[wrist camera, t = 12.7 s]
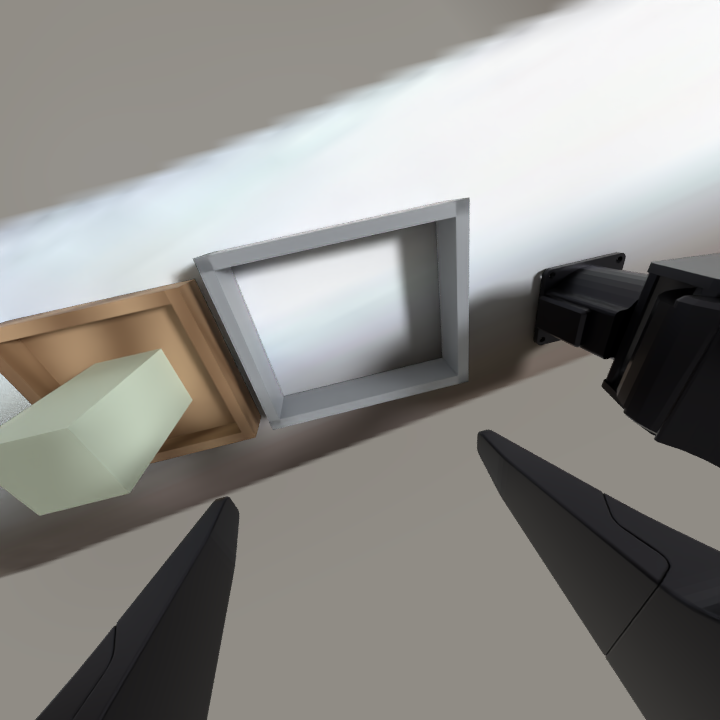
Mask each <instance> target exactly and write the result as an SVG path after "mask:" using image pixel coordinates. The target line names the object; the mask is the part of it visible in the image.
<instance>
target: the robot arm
mask: <svg viewBox="0 0 720 720" xmlns="http://www.w3.org/2000/svg"><path fill="white" fill-rule="evenodd" d="M625 257H626V256H625V254H624V253H612V254H608V255H603V256H599V257H595V258H591V259H586V260H582V261H578V262H574V263H569V264H565V265H561V266H556V267H552V268H549V269H547V270H545V271H544V273H543V275H542V282H541V289H540V297H539V304H538V311H537V319H536V326H535V333H534V342H535V343H537V344H539V345H543V344H547V343H551V342H555V341H559V340H562V341H564V342H566V343H568V344H570V345H572V346H574V347H580V348H582V349H584V350H586V351H588V352H590V353H592V354H594V355H597V356H599V357H601V358H603V359H609V358H611V359H613V360H614V361H613V363H612V366H611V368H610V371H609V373H608V375H607V378H606V379H605V380H604V381H603V383H602V387H603V389H605V391H606V392H607V393H609V394H610V396H611V397H612V398H613V399H614V400H615V401H616V402H617V403H618V404H619V405H620V406H621V407H622V408H623V409H624V413H625V414H626V416H628V417H629V418H630V419H631V420H633V421H634V422H636V423H637V424H638V425H640V426H641V427H642V428H644V429H645V430H647V431H648V432H649V433H651V434H653V435H655V438H654V439H655V440H656V441H657V442H660V443H663V444H665V445H669V446H671V447H674V448H678V449H681V450H683V451H686V452H688V453H690V454H692V455H695V456H697V457H700V458H702V459H704V460H706V461H708V462H710V463H712V464H714V465H716V466H718V467H719V468H720V253H716V254H708V255H701V256H693V257H685V258H678V259H670V260H662V261H655V262H651V264H650V266H649V269H648V271H647V272H649V274H643V273H637V272H631V271H625V270H622V269H623V265H624V261H625ZM550 274H551V276H550V277H549V275H550ZM540 339H541V340H540ZM477 450H478V453H479V455H480V457H481V459H482V461H483V463H484V465H485V467H486V469H487V471H488V473H489V474H490V477H491V478H492V481H493V482H494V484H495V486H496V488H497V490H498V492H499V494H500V496H501V497H502V499H503V500H504V502H505V503H506V505H507V507H508V508H509V510H510V511H511V513H512V514H513V516H514V517H515V519H516V520H517V522H518V524H519V525H520V526H521V528H522V530H523V531H524V533H525V534H526V536H527V537H528V539H529V540H530V542H531V543H532V545H533V547H534V548H535V550H536V551H537V553H538V554H539V556H540V557H541V559H542V560H543V562H544V563H545V565H546V567H547V568H548V570H549V571H550V572H551V574H552V576H553V577H554V579H555V580H556V582H557V583H558V585H559V586H560V588H561V589H562V591H563V593H564V594H565V596H566V597H567V599H568V600H569V602H570V603H571V605H572V606H573V608H574V610H575V611H576V613H577V614H578V616H579V617H580V619H581V620H582V621H583V623H584V625H585V626H586V628H587V629H588V631H589V633H590V634H591V636H592V637H593V639H594V640H595V642H596V643H597V645H598V646H599V648H600V649H601V651H602V652H603V654H604V655H606V659H607V661H608V662H609V663H610V665H611V667H612V668H613V670H614V671H615V673H616V674H617V676H618V677H619V679H620V680H621V682H622V684H623V685H624V687H625V688H626V690H627V691H628V693H629V694H630V696H631V697H632V699H633V700H634V702H635V703H636V705H637V707H638V708H639V710H640V711H641V713H642V714H643V716H644V717H645V719H646V720H720V551H718V550H716V549H714V548H712V547H710V546H707V545H705V544H703V543H701V542H699V541H697V540H695V539H693V538H691V537H689V536H687V535H685V534H682V533H680V532H678V531H676V530H674V529H672V528H670V527H668V526H666V525H664V524H662V523H660V522H658V521H656V520H654V519H652V518H650V517H648V516H646V515H644V514H642V513H640V512H638V511H636V510H635V509H633V508H630V507H629V506H627V505H625V504H623V503H621V502H620V501H618V500H616V499H614V498H612V497H610V496H609V495H607V494H605V493H604V494H603V493H602V492H601V491H599V490H598V489H596V488H594V487H592V486H591V485H589V484H587V483H585V482H583V481H581V480H580V479H578V478H576V477H574V476H573V475H571V474H569V473H567V472H565V471H564V470H562V469H560V468H558V467H556V466H555V465H553V464H551V463H549V462H547V461H546V460H544V459H542V458H540V457H538V456H537V455H535V454H533V453H531V452H529V451H528V450H526V449H524V448H522V447H520V446H519V445H517V444H515V443H513V442H511V441H509V440H508V439H506V438H504V437H502V436H501V435H499V434H497V433H495V432H493V431H492V430H484V431H481V432H479V433H478V437H477ZM238 525H239V511H238V509H237V507H236V506H235V504H234V503H233V502H232V500H231V499H230V497H223V498H219V499H216V500H215V501H214V502H213V503H212V504H211V506H210V507H209V508H208V509H207V511H206V512H205V513H204V514H203V516H202V517H201V518H200V519H199V521H198V522H197V523H196V524H195V526H194V527H193V528H192V529H191V531H190V532H189V533H188V534H187V536H186V537H185V538H184V539H183V541H182V542H181V543H180V544H179V546H178V547H177V548H176V549H175V551H174V552H173V553H172V554H171V556H170V557H169V558H168V559H167V561H166V562H165V563H164V564H163V566H162V567H161V568H160V569H159V571H158V572H157V573H156V574H155V576H154V577H153V578H152V579H151V581H150V582H149V583H148V584H147V586H146V587H145V588H144V589H143V591H142V592H141V593H140V594H139V596H138V597H137V598H136V599H135V601H134V602H133V603H132V604H131V606H130V607H129V608H128V609H127V611H126V612H125V613H124V614H123V616H122V617H121V618H120V619H119V621H118V622H117V625H116V626H114V627H113V628H112V629H111V630H110V632H109V633H108V634H107V635H106V637H105V638H104V639H103V641H102V642H101V643H100V644H99V645H98V647H97V648H96V649H95V650H94V652H93V653H92V654H91V655H90V657H89V658H88V659H87V660H86V661H85V662H84V664H83V665H82V666H81V667H80V669H79V670H78V671H77V672H76V673H75V675H74V676H73V677H72V678H71V679H70V680H69V681H68V683H67V684H66V685H65V686H64V687H63V688H62V690H61V691H60V692H59V693H58V694H57V695H56V697H55V698H54V699H53V700H52V701H51V702H50V704H49V705H48V706H47V707H46V708H45V709H44V710H43V712H42V713H41V714H40V715H39V716H38V717H37V718H36V720H207V716H208V710H209V705H210V699H211V693H212V689H213V683H214V678H215V672H216V667H217V662H218V656H219V650H220V645H221V640H222V634H223V628H224V623H225V617H226V612H227V607H228V602H229V596H230V590H231V585H232V580H233V574H234V568H235V560H236V550H237V538H238Z"/></svg>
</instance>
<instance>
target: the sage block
mask: <svg viewBox="0 0 720 720" xmlns="http://www.w3.org/2000/svg"><path fill="white" fill-rule="evenodd" d="M191 402H192V398H191V397H190V395H189V393H188V392H187V390H186V388H185V387H184V385H183V383H182V382H181V380H180V379H179V377H178V375H177V374H176V372H175V370H174V369H173V367H172V366H171V364H170V362H169V361H168V359H167V357H166V356H165V354H164V352H163V351H162V349H157V350H152V351H148V352H143V353H139V354H135V355H130V356H126V357H122V358H117V359H113V360H109V361H104V362H100V363H95V364H93V365H92V366H90V367H89V368H87V369H86V370H84V371H83V372H81V373H80V374H78V375H77V376H75V377H74V378H72V379H71V380H69V381H68V382H66V383H65V384H63V385H62V386H60V387H59V388H57V389H56V390H54V391H52V392H51V393H49V394H48V395H46V396H45V397H43V398H42V399H40V400H39V401H37V402H36V403H34V404H33V405H31V406H30V407H28V408H27V409H25V410H24V411H22V412H21V413H19V414H18V415H16V416H15V417H13V418H12V419H10V420H9V421H7V422H6V423H4V424H2V425H1V426H0V486H1V487H2V488H4V489H5V490H6V491H8V492H9V493H10V494H11V495H13V496H14V497H15V498H17V499H18V500H19V501H21V502H22V503H23V504H24V505H26V506H27V507H28V508H30V509H31V510H32V511H34V512H35V513H36V514H37V515H39V516H41V515H45V514H49V513H53V512H57V511H61V510H65V509H69V508H73V507H77V506H81V505H85V504H89V503H93V502H97V501H101V500H105V499H109V498H113V497H117V496H121V495H125V494H129V493H130V492H131V491H132V490H133V488H134V487H135V485H136V484H137V482H138V481H139V479H140V478H141V476H142V475H143V473H144V472H145V470H146V469H147V467H148V466H149V464H150V463H151V461H152V460H153V458H154V457H155V455H156V454H157V452H158V451H159V449H160V448H161V446H162V445H163V443H164V442H165V440H166V439H167V437H168V436H169V435H170V433H171V432H172V430H173V429H174V427H175V426H176V424H177V423H178V421H179V420H180V418H181V417H182V415H183V414H184V412H185V411H186V409H187V408H188V406H189V405H190V403H191Z"/></svg>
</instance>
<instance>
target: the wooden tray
mask: <svg viewBox="0 0 720 720" xmlns="http://www.w3.org/2000/svg"><path fill="white" fill-rule="evenodd" d="M157 349H162V351H163V352H164V354H165V356H166V357H167V359H168V361H169V362H170V364H171V366H172V367H173V369H174V370H175V372H176V374H177V375H178V377H179V379H180V380H181V382H182V383H183V385H184V387H185V388H186V390H187V392H188V393H189V395H190V397H191V398H192V402H191V403H190V405H189V406H188V408H187V409H186V411H185V412H184V414H183V415H182V417H181V418H180V420H179V421H178V423H177V424H176V426H175V427H174V429H173V430H172V432H171V433H170V435H169V436H168V437H167V439H166V440H165V442H164V443H163V445H162V446H161V448H160V449H159V451H158V452H157V454H156V455H155V457H154V458H153V460H152V461H151V463H155V462H159V461H163V460H167V459H171V458H175V457H179V456H183V455H187V454H191V453H195V452H199V451H203V450H207V449H211V448H215V447H219V446H223V445H227V444H231V443H235V442H239V441H243V440H247V439H251V438H255V437H256V434H257V430H258V427H259V423H260V419H261V416H260V414H259V412H258V409H257V407H256V405H255V403H254V401H253V399H252V397H251V395H250V393H249V391H248V389H247V387H246V385H245V382H244V380H243V378H242V376H241V374H240V372H239V370H238V368H237V366H236V364H235V362H234V360H233V357H232V355H231V353H230V351H229V349H228V347H227V345H226V343H225V341H224V339H223V337H222V335H221V333H220V330H219V328H218V326H217V324H216V322H215V320H214V318H213V316H212V314H211V312H210V310H209V308H208V305H207V303H206V301H205V299H204V297H203V295H202V293H201V291H200V289H199V287H198V285H197V283H196V281H195V279H192V280H188V281H183V282H179V283H174V284H170V285H166V286H161V287H157V288H152V289H148V290H143V291H139V292H134V293H130V294H125V295H121V296H116V297H112V298H107V299H103V300H99V301H94V302H90V303H85V304H81V305H76V306H72V307H67V308H63V309H58V310H54V311H49V312H45V313H40V314H36V315H32V316H27V317H23V318H18V319H14V320H9V321H6V322H3V323H0V373H1V374H2V375H3V376H4V377H5V378H6V379H7V380H8V381H9V382H10V383H11V384H12V385H13V386H14V387H15V388H16V389H17V390H18V391H19V392H20V393H21V394H22V395H23V396H24V397H25V398H26V399H27V400H28V401H29V402H30V403H31V404H32V405H33V404H34V403H36V402H37V401H39V400H40V399H42V398H43V397H45V396H46V395H48V394H49V393H51V392H52V391H54V390H56V389H57V388H59V387H60V386H62V385H63V384H65V383H66V382H68V381H69V380H71V379H72V378H74V377H75V376H77V375H78V374H80V373H81V372H83V371H84V370H86V369H87V368H89V367H90V366H92V365H93V364H95V363H100V362H104V361H109V360H113V359H117V358H122V357H126V356H130V355H135V354H139V353H143V352H148V351H152V350H157ZM151 463H150V464H151Z"/></svg>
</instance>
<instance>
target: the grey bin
mask: <svg viewBox="0 0 720 720" xmlns="http://www.w3.org/2000/svg"><path fill="white" fill-rule="evenodd" d="M434 221H436V235H437V256H438V277H439V298H440V318H441V339H442V358H439V359H435V360H431V361H427V362H423V363H419V364H415V365H411V366H407V367H402V368H398V369H394V370H390V371H386V372H382V373H378V374H374V375H370V376H366V377H361V378H357V379H353V380H349V381H345V382H341V383H337V384H333V385H329V386H325V387H320V388H316V389H312V390H308V391H304V392H300V393H296V394H292V395H288V396H283V393H282V391H281V388H280V386H279V384H278V381H277V379H276V376H275V374H274V371H273V369H272V366H271V364H270V361H269V359H268V357H267V354H266V352H265V349H264V347H263V344H262V342H261V339H260V337H259V334H258V332H257V330H256V327H255V325H254V322H253V320H252V317H251V315H250V312H249V310H248V308H247V305H246V303H245V300H244V298H243V295H242V293H241V290H240V288H239V285H238V283H237V281H236V278H235V276H234V273H233V271H232V268H231V267H232V266H237V265H241V264H246V263H250V262H255V261H259V260H264V259H268V258H273V257H277V256H282V255H286V254H290V253H295V252H299V251H304V250H308V249H313V248H317V247H322V246H326V245H331V244H335V243H340V242H344V241H349V240H353V239H358V238H362V237H367V236H371V235H376V234H380V233H385V232H389V231H393V230H398V229H402V228H407V227H411V226H416V225H420V224H425V223H429V222H434ZM193 260H194V262H195V265H196V267H197V269H198V271H199V273H200V275H201V277H202V279H203V282H204V284H205V286H206V288H207V290H208V292H209V294H210V297H211V299H212V301H213V303H214V305H215V307H216V309H217V312H218V314H219V316H220V318H221V320H222V322H223V324H224V327H225V329H226V331H227V333H228V335H229V337H230V339H231V341H232V344H233V346H234V348H235V350H236V352H237V354H238V356H239V359H240V361H241V363H242V365H243V367H244V369H245V371H246V374H247V376H248V378H249V380H250V382H251V384H252V386H253V389H254V391H255V393H256V395H257V397H258V399H259V401H260V404H261V406H262V408H263V410H264V412H265V414H266V416H267V418H268V421H269V423H270V425H271V427H272V429H273V430H275V429H279V428H283V427H287V426H291V425H295V424H299V423H303V422H307V421H311V420H315V419H319V418H323V417H327V416H331V415H335V414H339V413H343V412H347V411H351V410H355V409H359V408H363V407H367V406H371V405H375V404H379V403H383V402H388V401H392V400H396V399H400V398H404V397H408V396H412V395H416V394H420V393H424V392H428V391H432V390H436V389H440V388H444V387H448V386H452V385H456V384H460V383H464V382H468V356H469V198H463V199H455V200H448V201H443V202H438V203H434V204H429V205H425V206H420V207H416V208H411V209H407V210H402V211H398V212H393V213H389V214H384V215H379V216H375V217H370V218H366V219H361V220H357V221H352V222H348V223H343V224H339V225H334V226H330V227H325V228H321V229H316V230H311V231H307V232H302V233H298V234H293V235H289V236H284V237H280V238H275V239H271V240H266V241H262V242H257V243H253V244H248V245H243V246H239V247H234V248H230V249H225V250H221V251H216V252H212V253H209V254H206V255H203V256H200V257H197V258H194V259H193Z"/></svg>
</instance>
